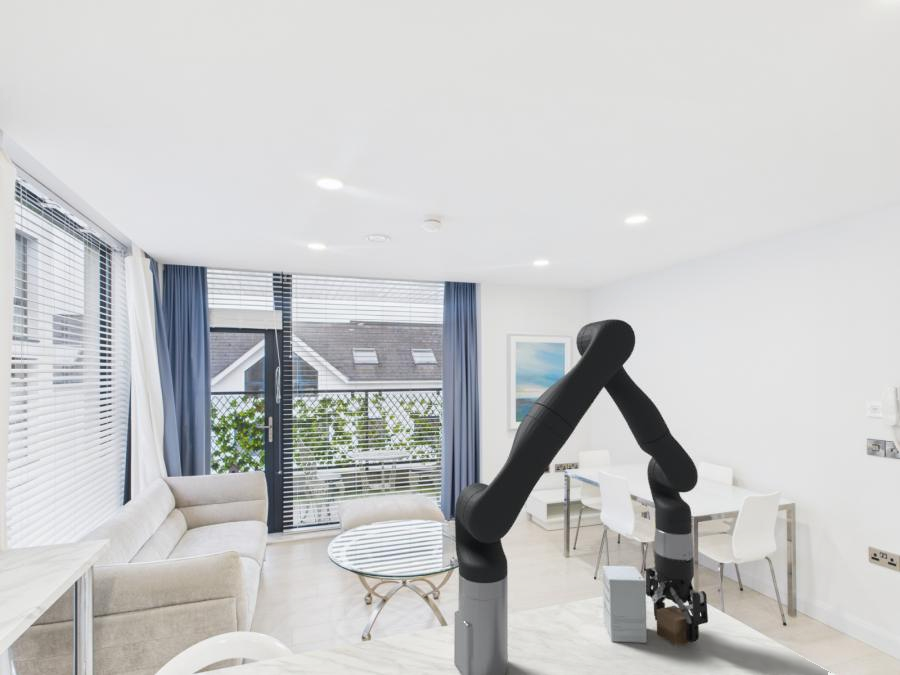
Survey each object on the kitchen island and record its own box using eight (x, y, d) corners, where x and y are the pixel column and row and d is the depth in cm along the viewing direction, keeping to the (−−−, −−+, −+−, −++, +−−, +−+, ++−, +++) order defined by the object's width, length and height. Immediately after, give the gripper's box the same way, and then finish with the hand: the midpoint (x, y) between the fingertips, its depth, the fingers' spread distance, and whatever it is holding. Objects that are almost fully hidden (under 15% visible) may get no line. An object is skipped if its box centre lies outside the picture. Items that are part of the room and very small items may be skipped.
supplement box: (637, 625, 108) (636, 565, 109) (647, 644, 101) (646, 580, 101) (602, 623, 109) (601, 564, 109) (610, 642, 101) (609, 578, 102)
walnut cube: (675, 646, 100) (675, 620, 100) (656, 633, 105) (656, 609, 105) (694, 641, 102) (693, 616, 102) (674, 629, 106) (674, 605, 107)
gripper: (635, 542, 109) (636, 617, 109) (687, 566, 96) (689, 652, 95) (661, 537, 112) (663, 611, 111) (716, 561, 99) (718, 644, 98)
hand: (675, 630), depth 103 cm, fingers open, 8 cm apart
